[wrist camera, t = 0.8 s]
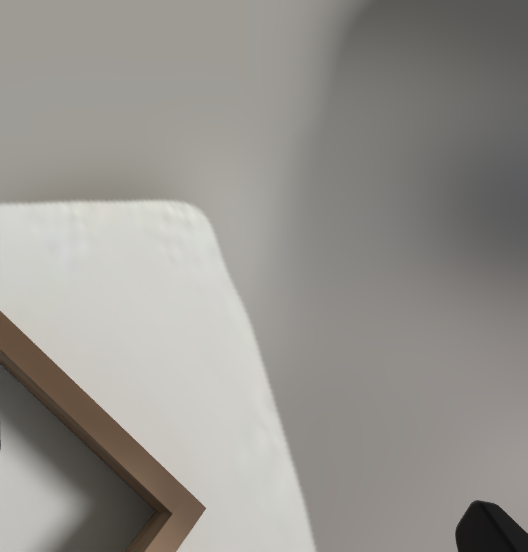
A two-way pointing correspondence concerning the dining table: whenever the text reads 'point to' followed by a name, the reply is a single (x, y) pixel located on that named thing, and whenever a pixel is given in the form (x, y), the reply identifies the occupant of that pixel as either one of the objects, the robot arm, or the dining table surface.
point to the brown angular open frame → (104, 442)
